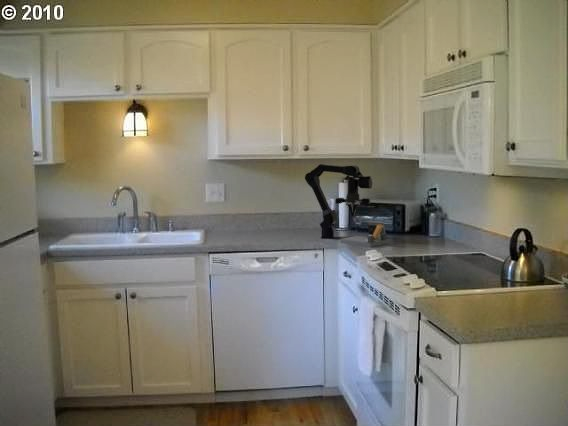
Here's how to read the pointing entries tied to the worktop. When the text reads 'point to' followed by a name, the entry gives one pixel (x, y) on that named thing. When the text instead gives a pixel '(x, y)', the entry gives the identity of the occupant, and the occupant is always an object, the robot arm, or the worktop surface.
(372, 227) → the electrical switch
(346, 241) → the breaker panel
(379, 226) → the breaker
